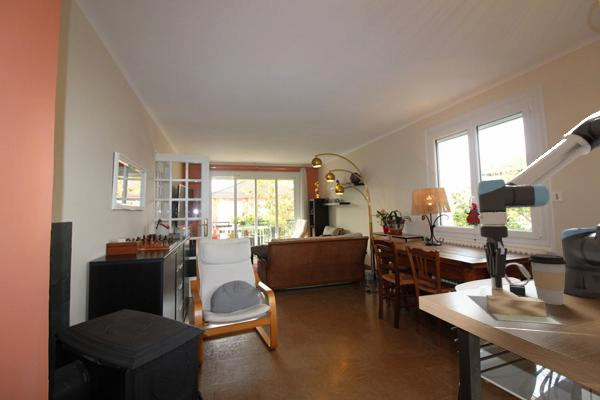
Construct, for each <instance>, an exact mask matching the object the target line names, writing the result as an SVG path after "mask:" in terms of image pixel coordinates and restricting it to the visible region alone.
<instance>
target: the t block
mask: <svg viewBox="0 0 600 400" xmlns="http://www.w3.org/2000/svg"><path fill="white" fill-rule="evenodd" d="M485 296H486V303H487V309H488V310H489V311H490V312H491V313H500V314H514V315H529V316H543V317H546V313H547V308H546V303H545V302H544V301H542V300H540V299H539V298H538V297H532V296H531V297H528V296H527V297H526V296H519V295H515V294H513V293H512V292H510V290H508V289H506V288H503V289H493V288H492V287H491V294H485Z"/></svg>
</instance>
